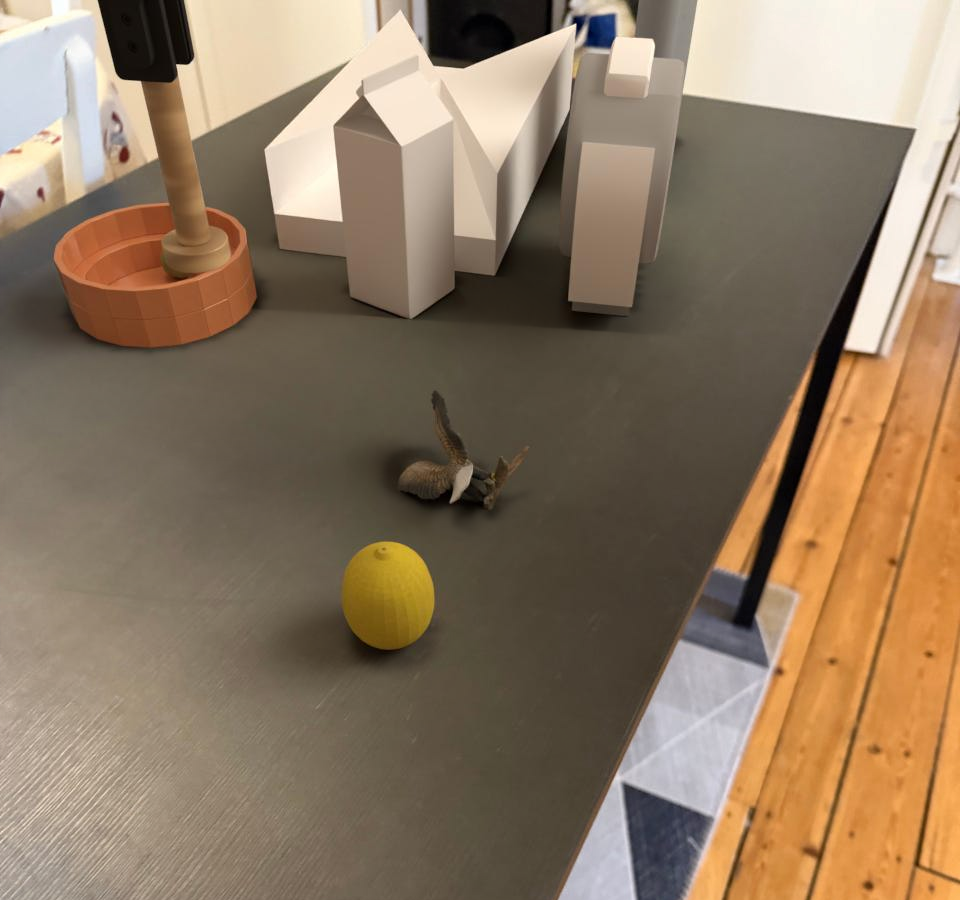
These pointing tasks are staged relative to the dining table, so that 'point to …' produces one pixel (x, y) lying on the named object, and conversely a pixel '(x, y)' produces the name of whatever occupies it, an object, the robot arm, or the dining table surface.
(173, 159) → the stick
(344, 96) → the building model
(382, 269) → the milk carton
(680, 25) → the flask
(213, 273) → the bowl
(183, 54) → the robot arm
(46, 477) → the dining table surface
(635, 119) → the grey boxy piece
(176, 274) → the bead
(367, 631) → the lemon
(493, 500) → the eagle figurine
